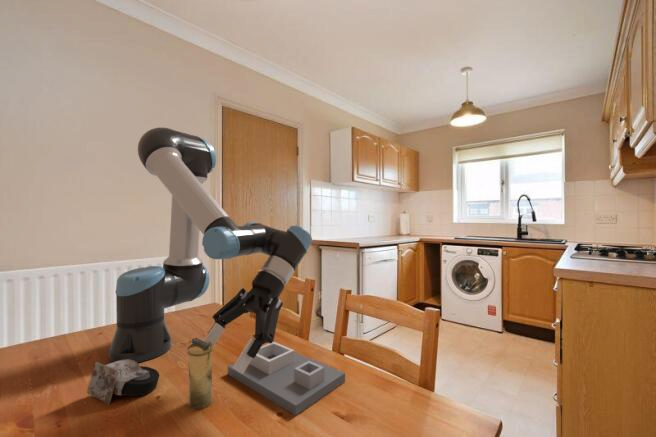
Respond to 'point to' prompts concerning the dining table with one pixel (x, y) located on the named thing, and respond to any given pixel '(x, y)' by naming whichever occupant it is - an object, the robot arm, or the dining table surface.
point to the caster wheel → (121, 380)
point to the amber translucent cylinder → (200, 374)
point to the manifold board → (288, 377)
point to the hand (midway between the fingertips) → (218, 361)
